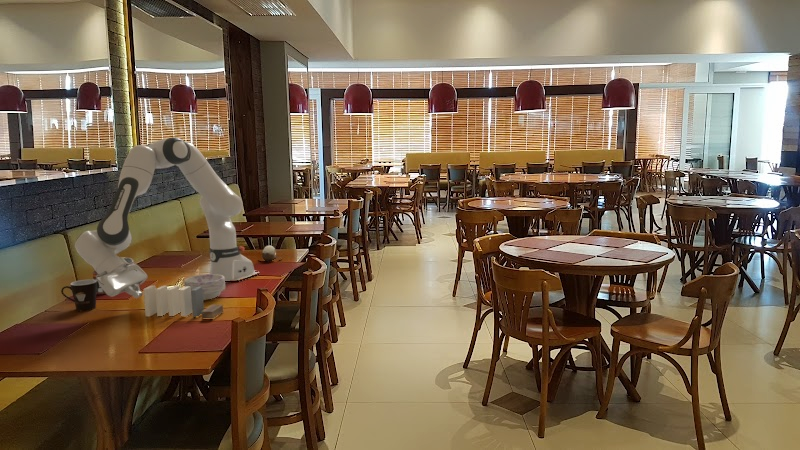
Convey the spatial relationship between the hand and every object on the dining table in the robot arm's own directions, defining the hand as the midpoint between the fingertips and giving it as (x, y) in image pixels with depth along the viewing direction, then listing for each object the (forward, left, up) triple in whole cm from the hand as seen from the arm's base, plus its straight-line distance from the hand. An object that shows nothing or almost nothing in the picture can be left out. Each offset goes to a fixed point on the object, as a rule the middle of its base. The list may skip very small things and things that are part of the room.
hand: (139, 296), depth 214 cm
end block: (-13, +24, -6) cm, 28 cm away
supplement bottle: (-6, -40, -7) cm, 41 cm away
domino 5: (-10, +19, -6) cm, 23 cm away
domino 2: (-4, +8, -6) cm, 11 cm away
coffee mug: (+9, -25, -7) cm, 27 cm away
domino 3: (-6, +11, -6) cm, 15 cm away
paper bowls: (-26, +1, -7) cm, 27 cm away
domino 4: (-8, +15, -6) cm, 19 cm away
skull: (-86, -30, -7) cm, 92 cm away
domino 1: (-2, +4, -6) cm, 8 cm away
